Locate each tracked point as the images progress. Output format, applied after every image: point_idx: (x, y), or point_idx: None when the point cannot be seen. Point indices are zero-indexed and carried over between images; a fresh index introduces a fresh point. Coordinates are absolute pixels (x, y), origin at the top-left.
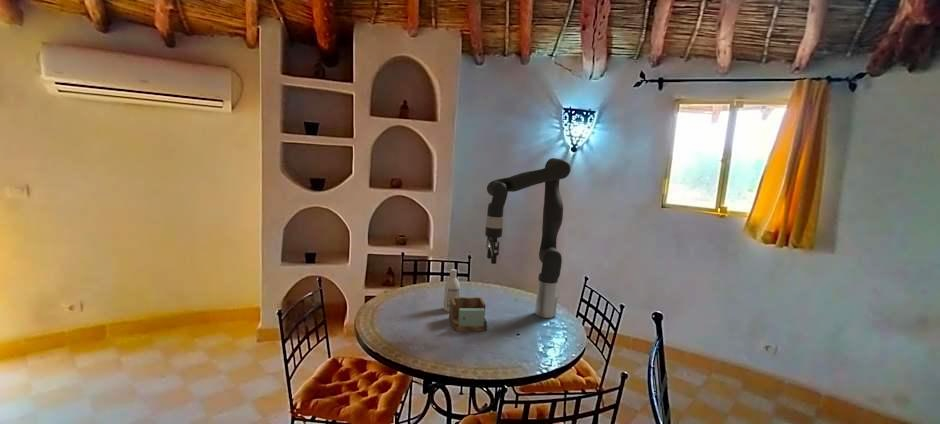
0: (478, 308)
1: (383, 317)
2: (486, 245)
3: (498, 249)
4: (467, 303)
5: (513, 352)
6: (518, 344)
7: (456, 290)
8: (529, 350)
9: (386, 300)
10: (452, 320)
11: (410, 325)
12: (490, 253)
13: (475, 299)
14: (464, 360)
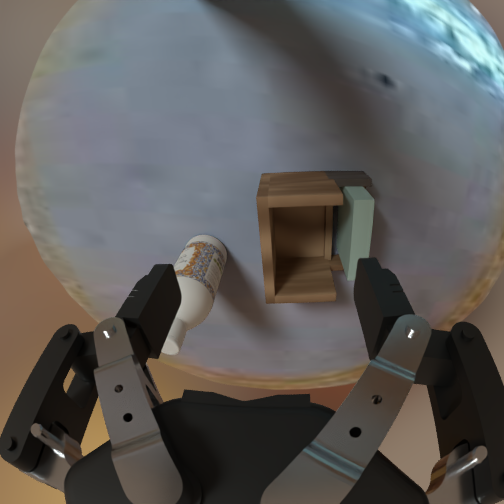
0: (354, 220)
1: (273, 369)
2: (83, 380)
3: (501, 391)
4: (272, 240)
5: (476, 139)
6: (444, 107)
7: (208, 285)
8: (470, 95)
9: (183, 361)
10: (333, 270)
11: (315, 336)
12: (158, 312)
13: (269, 220)
14: (479, 251)
